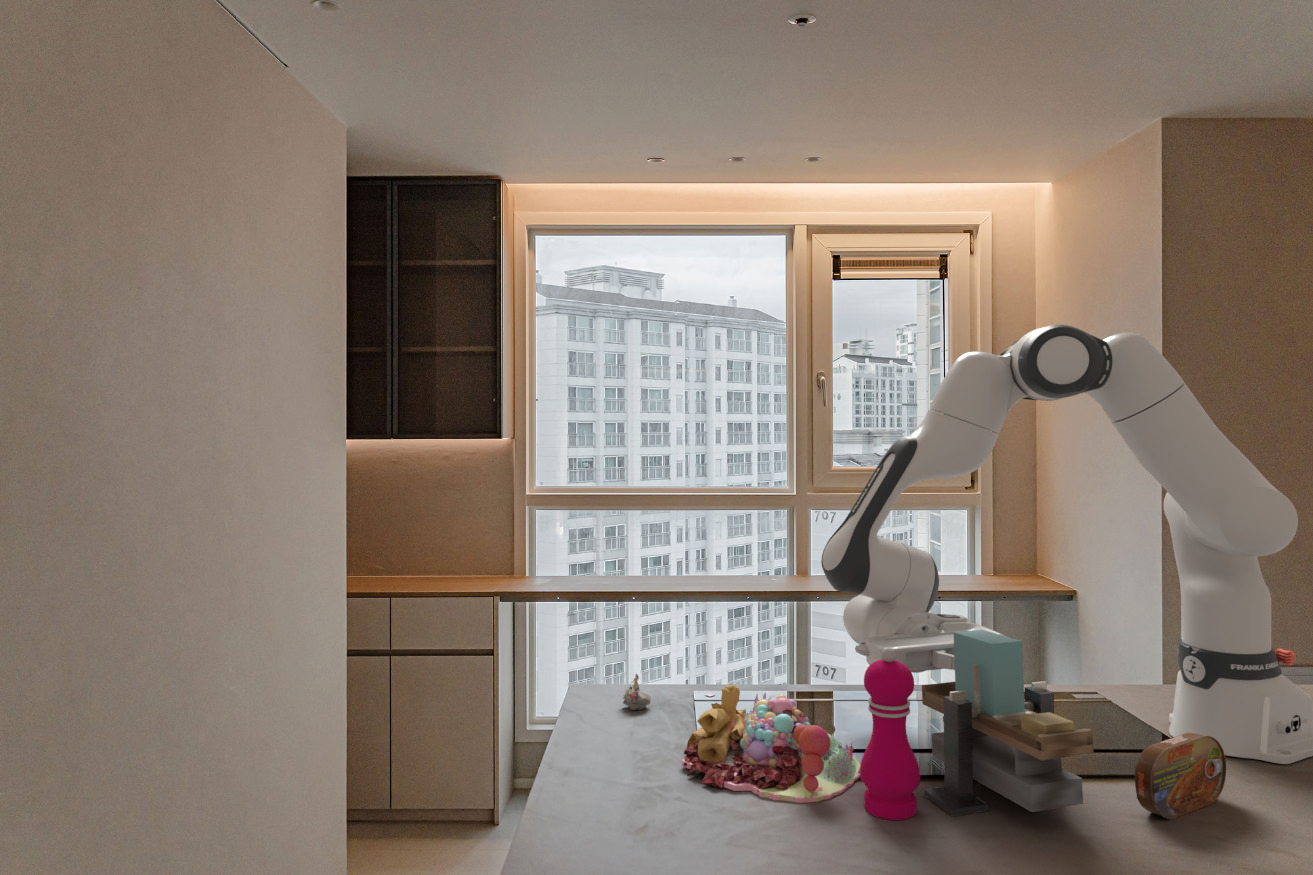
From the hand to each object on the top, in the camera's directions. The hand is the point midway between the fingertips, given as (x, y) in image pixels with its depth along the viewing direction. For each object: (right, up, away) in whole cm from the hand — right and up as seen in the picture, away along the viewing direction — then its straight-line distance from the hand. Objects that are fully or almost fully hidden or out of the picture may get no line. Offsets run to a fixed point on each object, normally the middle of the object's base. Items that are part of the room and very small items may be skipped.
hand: (969, 665), depth 116 cm
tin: (+23, -15, -9) cm, 29 cm away
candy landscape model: (-26, -16, +7) cm, 31 cm away
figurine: (-45, -15, +30) cm, 57 cm away
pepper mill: (-13, -16, -9) cm, 22 cm away
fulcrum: (+2, -15, -6) cm, 16 cm away
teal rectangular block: (+1, -5, -4) cm, 7 cm away
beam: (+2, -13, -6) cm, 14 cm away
